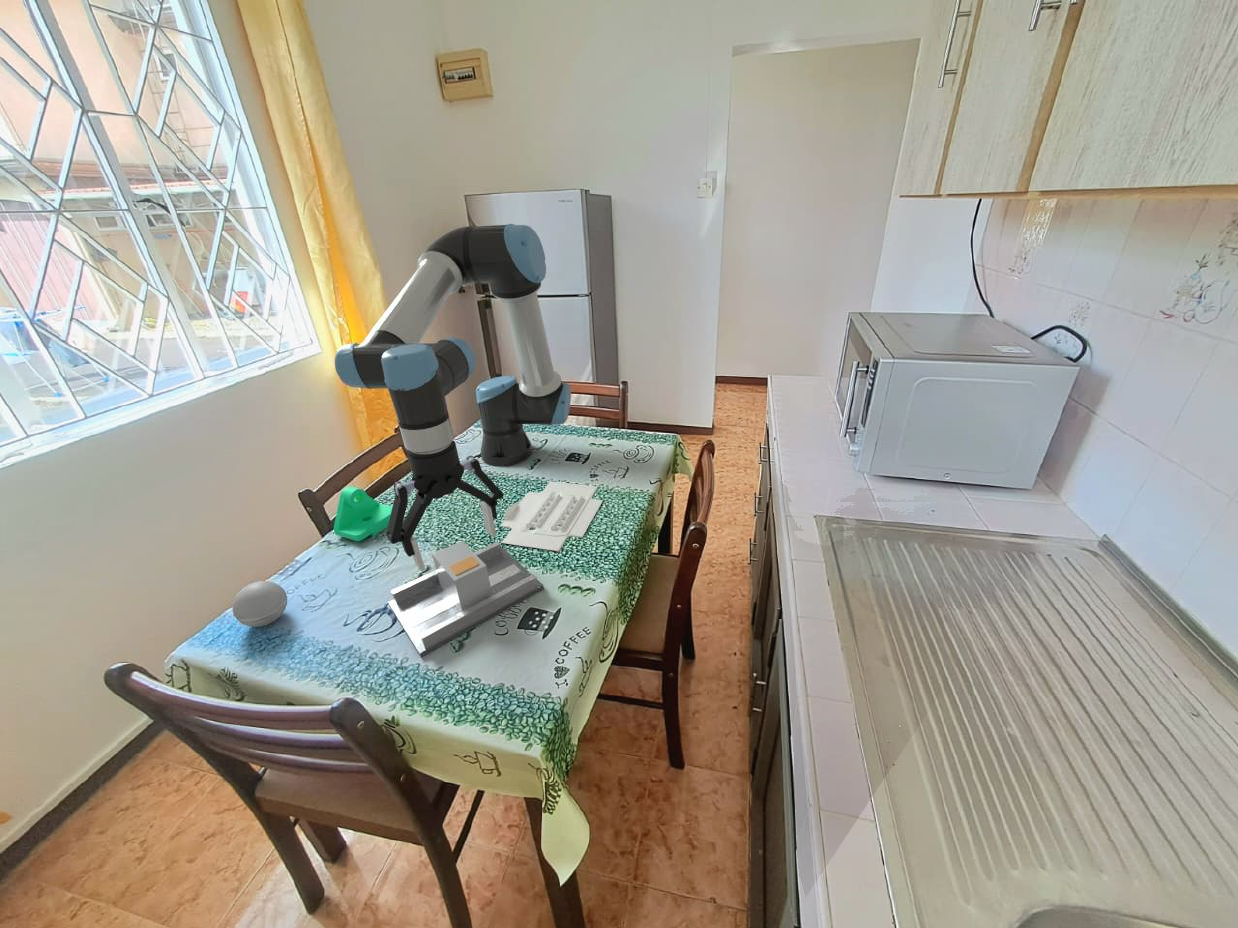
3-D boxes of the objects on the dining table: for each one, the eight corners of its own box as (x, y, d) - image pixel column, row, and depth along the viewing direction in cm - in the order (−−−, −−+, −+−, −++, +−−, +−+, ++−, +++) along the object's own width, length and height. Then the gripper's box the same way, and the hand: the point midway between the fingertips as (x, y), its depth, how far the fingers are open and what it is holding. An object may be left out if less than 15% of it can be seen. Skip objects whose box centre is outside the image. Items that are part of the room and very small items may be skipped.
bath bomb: (282, 598, 95) (266, 566, 91) (301, 614, 91) (286, 581, 87) (235, 624, 89) (216, 591, 85) (254, 643, 85) (235, 609, 81)
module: (469, 573, 97) (462, 539, 94) (493, 599, 91) (486, 564, 87) (440, 587, 94) (431, 553, 90) (463, 615, 87) (454, 579, 83)
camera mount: (360, 545, 109) (347, 507, 105) (336, 538, 112) (322, 500, 107) (401, 517, 119) (390, 480, 114) (378, 511, 122) (366, 475, 117)
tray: (610, 490, 127) (609, 478, 125) (574, 560, 104) (572, 547, 102) (538, 483, 132) (536, 471, 131) (488, 548, 109) (485, 535, 107)
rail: (503, 551, 105) (501, 538, 103) (543, 589, 94) (541, 575, 92) (389, 606, 92) (385, 592, 90) (421, 657, 81) (416, 642, 79)
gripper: (490, 415, 87) (508, 513, 97) (340, 463, 73) (379, 571, 84) (511, 428, 82) (527, 529, 92) (354, 481, 68) (394, 594, 79)
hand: (457, 549), depth 88 cm, fingers open, 13 cm apart
